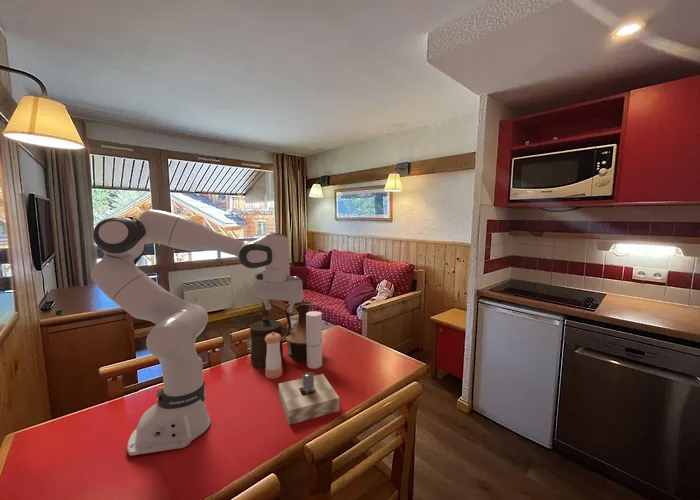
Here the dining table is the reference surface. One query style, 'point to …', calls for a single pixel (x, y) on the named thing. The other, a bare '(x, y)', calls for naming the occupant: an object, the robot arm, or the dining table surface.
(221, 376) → the dining table surface
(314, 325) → the cylindrical container
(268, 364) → the pepper shaker
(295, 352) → the pitcher
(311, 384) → the pin
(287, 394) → the socket block
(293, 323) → the milk carton
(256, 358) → the wooden container
